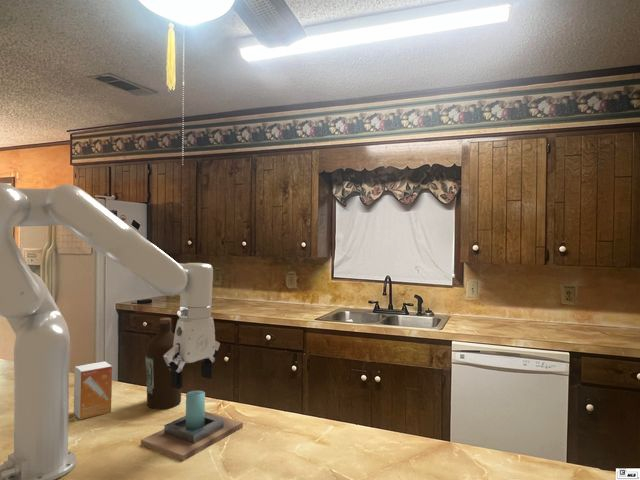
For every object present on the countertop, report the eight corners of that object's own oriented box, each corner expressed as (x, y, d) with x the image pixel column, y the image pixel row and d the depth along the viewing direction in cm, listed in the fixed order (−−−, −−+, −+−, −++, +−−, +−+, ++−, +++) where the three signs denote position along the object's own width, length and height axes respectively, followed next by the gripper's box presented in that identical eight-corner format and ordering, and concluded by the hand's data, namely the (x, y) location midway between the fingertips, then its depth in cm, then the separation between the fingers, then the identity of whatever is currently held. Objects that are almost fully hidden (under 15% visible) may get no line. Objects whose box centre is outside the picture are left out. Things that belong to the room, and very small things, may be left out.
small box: (79, 420, 114) (80, 371, 114) (73, 413, 118) (73, 366, 118) (112, 412, 119) (112, 365, 119) (104, 405, 124) (105, 360, 124)
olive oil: (178, 394, 134) (179, 314, 134) (187, 406, 125) (188, 320, 125) (141, 400, 128) (143, 317, 128) (148, 413, 119) (149, 323, 119)
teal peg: (194, 435, 103) (195, 398, 103) (181, 431, 106) (182, 394, 106) (208, 429, 107) (208, 392, 107) (195, 424, 110) (196, 389, 110)
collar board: (182, 460, 94) (183, 446, 94) (140, 444, 101) (141, 431, 101) (242, 426, 111) (242, 414, 111) (203, 415, 118) (203, 403, 118)
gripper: (178, 319, 97) (174, 395, 96) (230, 310, 112) (227, 376, 111) (156, 315, 100) (152, 388, 100) (209, 307, 115) (206, 371, 115)
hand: (192, 382), depth 106 cm, fingers open, 9 cm apart
